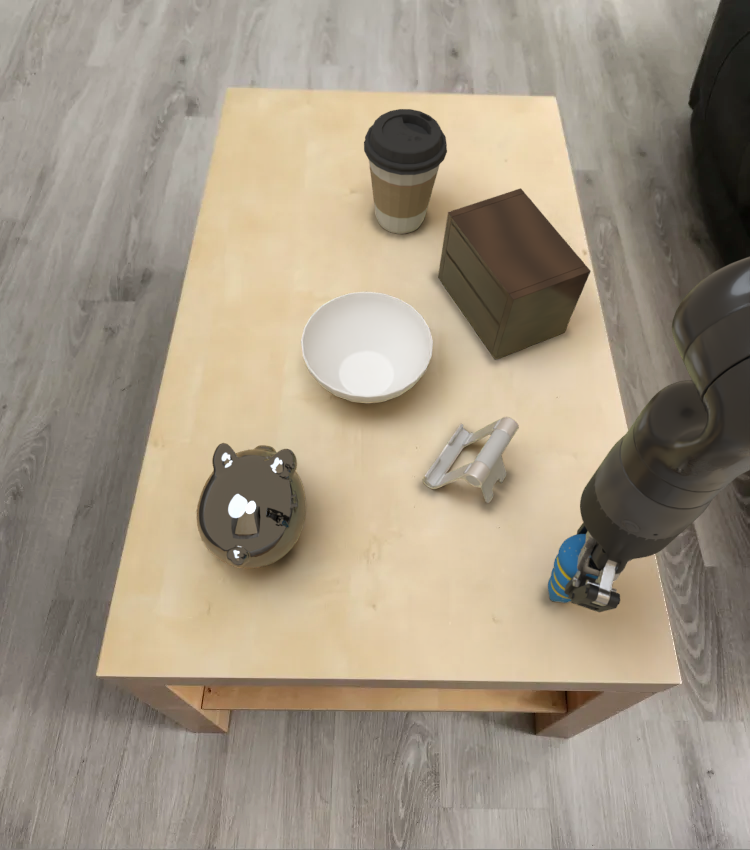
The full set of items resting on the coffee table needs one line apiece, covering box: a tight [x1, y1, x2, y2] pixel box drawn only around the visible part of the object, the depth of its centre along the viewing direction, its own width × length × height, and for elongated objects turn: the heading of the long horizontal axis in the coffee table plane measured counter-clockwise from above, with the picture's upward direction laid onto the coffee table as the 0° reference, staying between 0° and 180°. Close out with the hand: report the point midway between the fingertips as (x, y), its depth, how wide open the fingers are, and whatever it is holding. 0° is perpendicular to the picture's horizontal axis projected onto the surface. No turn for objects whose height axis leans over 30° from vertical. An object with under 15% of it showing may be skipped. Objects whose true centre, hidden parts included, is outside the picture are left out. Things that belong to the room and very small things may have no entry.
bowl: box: [300, 290, 434, 404], centre depth 85 cm, size 16×16×7 cm
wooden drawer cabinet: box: [437, 188, 591, 361], centre depth 90 cm, size 11×16×12 cm
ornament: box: [547, 533, 598, 604], centre depth 68 cm, size 5×5×15 cm
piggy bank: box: [196, 442, 307, 570], centre depth 72 cm, size 11×15×12 cm
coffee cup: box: [363, 108, 448, 235], centre depth 97 cm, size 11×11×15 cm
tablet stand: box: [422, 416, 520, 504], centre depth 78 cm, size 9×8×8 cm
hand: (581, 565), depth 65 cm, fingers closed on ornament, 5 cm apart
